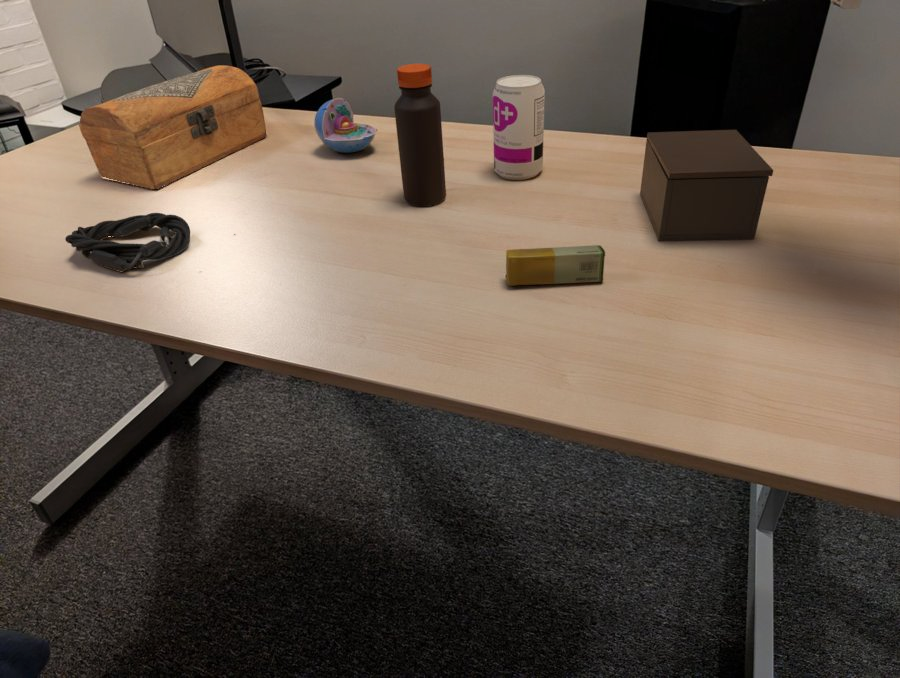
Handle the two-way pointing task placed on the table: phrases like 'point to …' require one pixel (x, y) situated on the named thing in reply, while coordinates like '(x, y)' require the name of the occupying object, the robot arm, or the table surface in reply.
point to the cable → (125, 253)
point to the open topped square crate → (700, 204)
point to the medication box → (555, 265)
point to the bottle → (419, 137)
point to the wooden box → (174, 126)
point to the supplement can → (518, 126)
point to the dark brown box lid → (707, 154)
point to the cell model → (341, 127)
